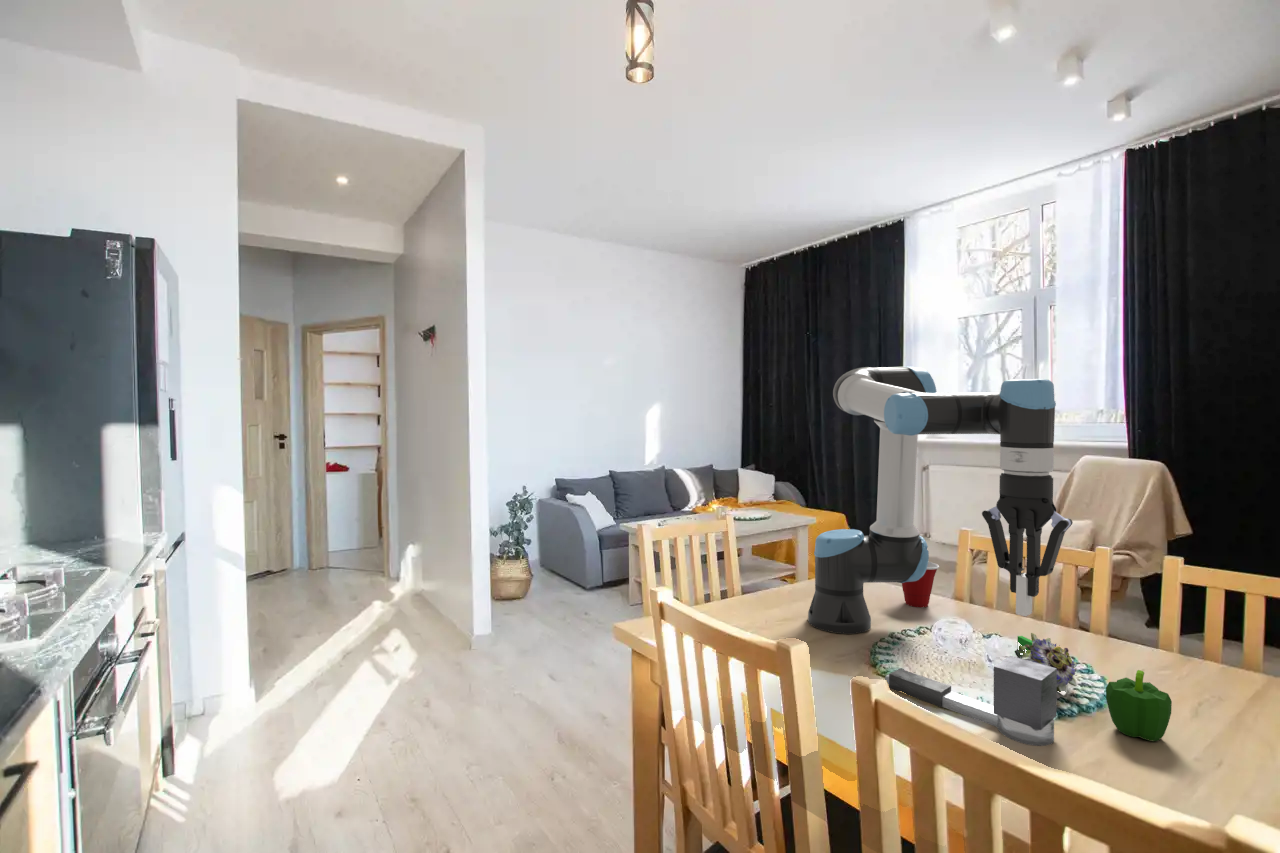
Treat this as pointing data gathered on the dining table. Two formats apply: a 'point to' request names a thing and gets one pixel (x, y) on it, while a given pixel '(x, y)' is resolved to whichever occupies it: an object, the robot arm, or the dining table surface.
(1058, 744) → the dining table surface
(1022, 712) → the dark grey cube
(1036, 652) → the passion flower
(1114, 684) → the bell pepper
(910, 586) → the plastic cup
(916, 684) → the ratchet
